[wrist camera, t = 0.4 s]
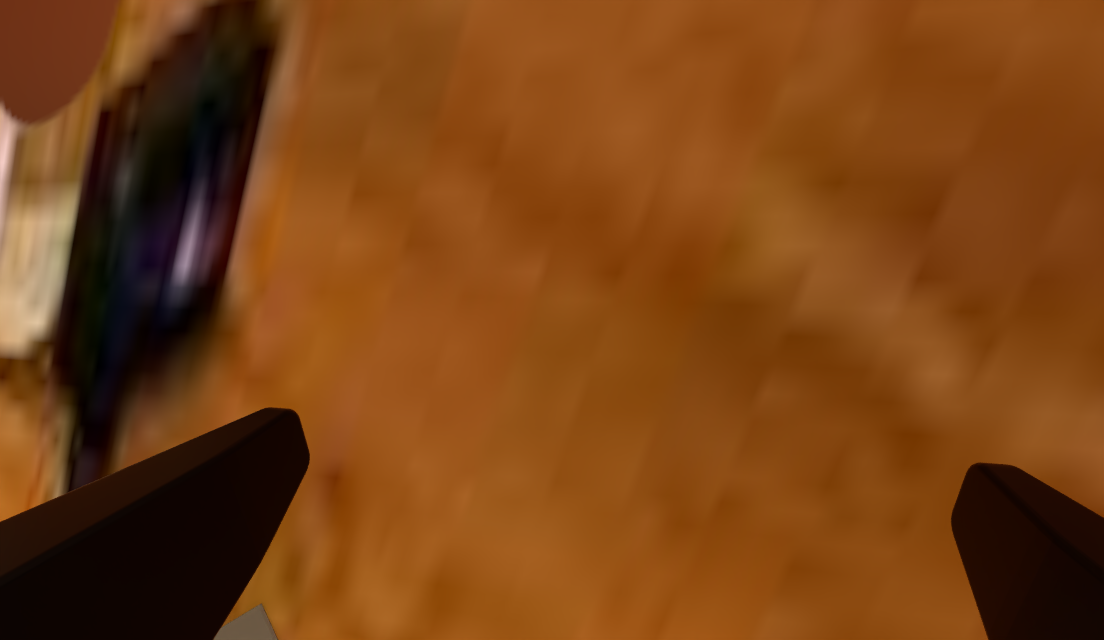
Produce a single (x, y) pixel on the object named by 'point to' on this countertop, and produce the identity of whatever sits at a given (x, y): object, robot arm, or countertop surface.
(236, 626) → the placemat
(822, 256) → the countertop surface
